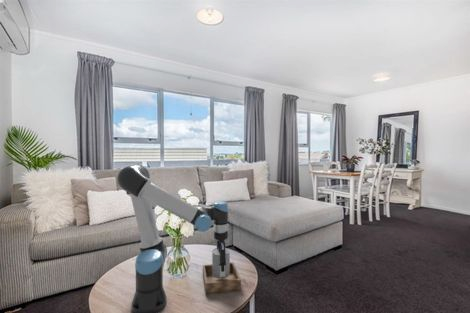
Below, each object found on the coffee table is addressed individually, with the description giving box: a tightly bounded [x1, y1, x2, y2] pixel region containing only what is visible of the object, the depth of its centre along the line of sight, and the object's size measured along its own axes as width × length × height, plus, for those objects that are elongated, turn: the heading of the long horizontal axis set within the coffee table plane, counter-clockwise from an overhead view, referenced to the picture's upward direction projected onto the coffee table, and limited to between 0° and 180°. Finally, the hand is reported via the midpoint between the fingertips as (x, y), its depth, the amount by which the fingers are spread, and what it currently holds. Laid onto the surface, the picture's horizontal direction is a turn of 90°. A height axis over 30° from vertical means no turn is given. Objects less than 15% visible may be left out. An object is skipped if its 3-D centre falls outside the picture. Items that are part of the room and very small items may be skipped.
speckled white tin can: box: [211, 247, 231, 279], centre depth 127 cm, size 10×10×12 cm
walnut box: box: [202, 261, 242, 295], centre depth 127 cm, size 18×19×6 cm
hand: (220, 271), depth 127 cm, fingers closed on speckled white tin can, 9 cm apart
